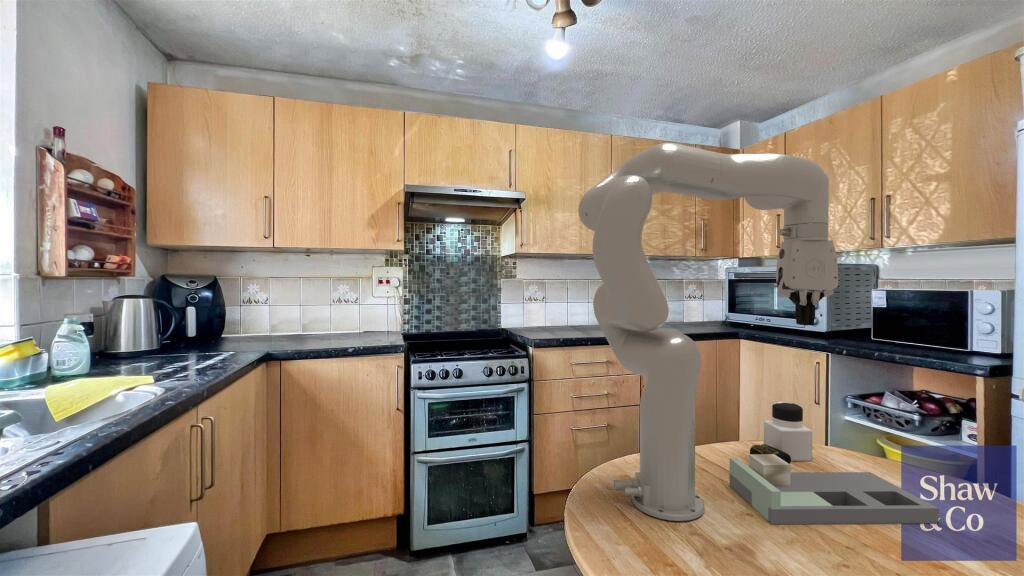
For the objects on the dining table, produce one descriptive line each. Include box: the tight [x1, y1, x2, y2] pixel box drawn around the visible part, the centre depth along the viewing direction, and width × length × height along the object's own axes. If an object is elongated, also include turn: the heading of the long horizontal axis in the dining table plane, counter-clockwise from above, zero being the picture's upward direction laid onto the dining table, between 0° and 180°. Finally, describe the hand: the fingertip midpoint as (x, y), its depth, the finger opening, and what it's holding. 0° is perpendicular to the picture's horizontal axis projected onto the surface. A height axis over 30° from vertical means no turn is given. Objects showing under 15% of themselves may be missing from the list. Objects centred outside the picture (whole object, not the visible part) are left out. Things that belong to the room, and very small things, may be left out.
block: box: [748, 453, 791, 486], centre depth 84 cm, size 5×5×4 cm
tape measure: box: [749, 443, 792, 465], centre depth 97 cm, size 7×7×4 cm
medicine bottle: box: [763, 401, 813, 462], centre depth 102 cm, size 7×7×12 cm
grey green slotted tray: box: [729, 457, 940, 525], centre depth 80 cm, size 28×14×6 cm, turn 90°
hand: (805, 324), depth 89 cm, fingers closed
